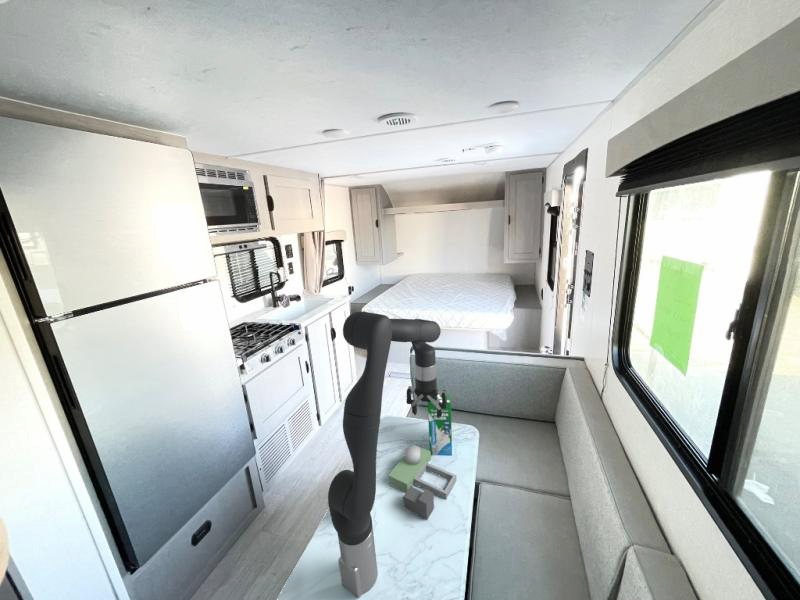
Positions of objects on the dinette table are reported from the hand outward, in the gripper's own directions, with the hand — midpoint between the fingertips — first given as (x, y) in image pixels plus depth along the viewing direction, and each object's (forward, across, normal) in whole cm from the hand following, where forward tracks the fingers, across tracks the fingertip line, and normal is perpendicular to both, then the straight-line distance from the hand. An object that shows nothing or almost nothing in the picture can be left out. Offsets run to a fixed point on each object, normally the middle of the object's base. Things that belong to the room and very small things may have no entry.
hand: (427, 415), depth 113 cm
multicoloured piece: (+26, -1, -2) cm, 26 cm away
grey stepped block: (+26, 0, -15) cm, 30 cm away
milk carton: (+26, +2, +15) cm, 30 cm away
